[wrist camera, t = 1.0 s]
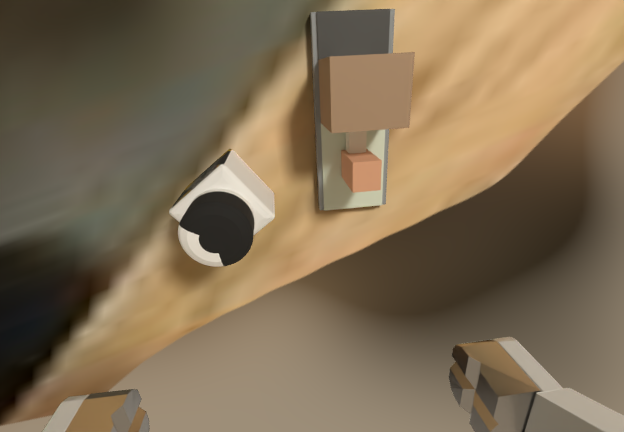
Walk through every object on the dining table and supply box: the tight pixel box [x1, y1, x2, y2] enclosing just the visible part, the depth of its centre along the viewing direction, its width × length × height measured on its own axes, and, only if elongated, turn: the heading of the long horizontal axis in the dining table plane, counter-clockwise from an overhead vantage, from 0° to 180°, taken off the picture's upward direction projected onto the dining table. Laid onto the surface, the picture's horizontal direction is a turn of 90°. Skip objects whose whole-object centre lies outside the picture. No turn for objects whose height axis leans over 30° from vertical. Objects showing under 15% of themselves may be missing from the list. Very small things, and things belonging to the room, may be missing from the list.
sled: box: [341, 131, 382, 193], centre depth 32 cm, size 12×4×5 cm, turn 3°
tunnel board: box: [310, 9, 415, 211], centre depth 32 cm, size 20×8×8 cm, turn 3°
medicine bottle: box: [169, 149, 275, 267], centre depth 31 cm, size 7×7×12 cm
